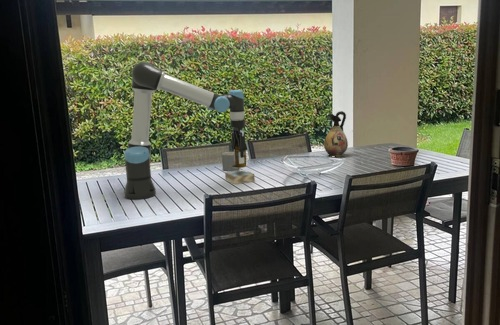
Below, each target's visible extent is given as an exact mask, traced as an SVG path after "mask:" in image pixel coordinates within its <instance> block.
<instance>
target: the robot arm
mask: <svg viewBox="0 0 500 325" xmlns="http://www.w3.org/2000/svg"><path fill="white" fill-rule="evenodd" d="M131 78H132V79H131V81H132V82H131V89H132V91H133V92H134V96H133V110H132V126H131V138H130V139H129V141H128V142H127V148H126V149H125V150H124V156H123V157H124V164H125V173H126V184H125V188H124V192H123V193H124V198H125V199H127V200H143V199H144V200H145V199H148V198H152V197H155V196H156V195H157V191H156V187H155V185H154V183H153V179H152V172H151V159H152V158H151V157H152V155H151V152H152V143H151V142H150V140H149V139H150V126H151V113H152V112H151V111H152V103H153V102H152V99H153V98H152V97H153V93H155V92H156V91H158V90H161V91H164V92H167V93H170V94H172V95H174V96H178V97H181V98H183V99H185V100H188V101H191V102H193V103H196V104H200V105H202V106H204V107H206V108H207V110H209V111H217V112H219V113H224V112H226V111H228V110H229V117H230V128H233V129H231V130H230V134H231V148H232V149H233V152H234V161H235V145H236V144H238V145H239V151H238V152H239V164H242V163H244V151H246V152H247V150H246V132H245V131H243V128H244V127H245V124H246V122H245V114H246V113H245V97H244V91H243V90H242V89H233V90H228V93H227V94H217V93H215V92H212V91H210V90H207V89H204V88H202V87H200V86H197V85H196V84H192V83H189V82H188V81H187V82H186V81H184V80H182V79H179V78H176V77H174V76H171V75H168V74H166V73H165V71H164V70H162V69H160V68H158V67H156V66H155V65H153V64H152V63H150V62H148V61H147V62H146V61H144V62H143V61H140V62H137V63H136V64H135V65H134V66H133V68H132V70H131Z"/></svg>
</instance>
